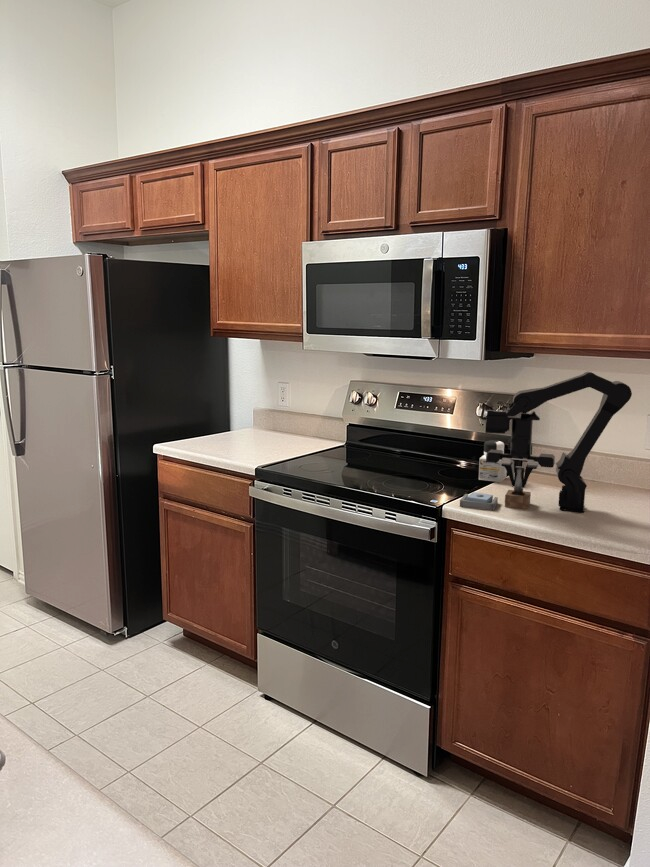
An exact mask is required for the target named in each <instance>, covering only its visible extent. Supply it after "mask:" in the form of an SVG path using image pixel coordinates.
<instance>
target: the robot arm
mask: <svg viewBox="0 0 650 867" xmlns="http://www.w3.org/2000/svg"><path fill="white" fill-rule="evenodd" d="M586 388H588V389H589V388H591V389H593V390H595V391H598V392H600V393H601V394H603V395H602V396H601V397H602V398H601V400H600V402H599V407H598V409H597V411H596V413H594V415H593V417H592V419H591V420H590V422H589V423H588V425H587V426H586V428H585V430H584V431H583V433H582V435H581V436H580V438H579V439H578V441H577V442H576V444H575V446H574V447H573V449H572V450H571V451H570V452H569V453H567V454H566V453H565V452H562V453H561V456H560V459H559V460H557V461H556V456H555V455H554V454H553V453H552V454H551V453H540V455H539V456H538V455H533V443H532V439H533V438H532V437H533V436H532V435H533V423H534V422H533V421H540V420H541V419H540V416H539V415H537V413H536V411H535V410H534V409H536V408H538V407H540V406H542V405H543V404H544V403H547V402H548V401H551V400H554V399H557V398H560V397H563V396H566V395H569V394H573V393H576V392H578V391H582V390H584V389H586ZM632 395H633V394H632V389H631V387H630V386H629V385H628V384H626V383H624V382H623V381H620V380H615V381H610V380H609V379H606V378H604V377H601V376H599V375H597V374H595V373H594V372H592V371H585V372H583V373H581V374H579V375H576V376H573V377H570V378H568V379H564V380H561V381H559V382H555V383H553V384H550V385H547V386H544V387H543V386H542V387H537V388H530V389H524V390H519V391H517V392H516V393H514V395H513V396H512V397H513V398H512V403H511V404H510V405H508V407H507V408H506V409H505V410H494V409H487V410H486V419H485V432H484V433H485V434H494V435H495V434H497V435H498V434H499V435H500V434H501V435H506V433H507V432H508V431H510V422H511V433H510V438H509V439H508V442H507V449H508V450H510V451H509V452H510V453H504V454H503V450H492V449H491V450H490V451H489V452H488V453H487V455H486V462H493V463H497V462H498V461H499V460H502V464H501V466H504V467H505V468H506V471H507V474H508V477H509V480H510V483H511V486H512V487H513V488H514V478H515V462H525V463H527V464H526V466H525V468H524V481H523V489H525V488H526V486H527V483H528V479H529V477H530V474H531V473H532V472H533V470H536V469H538V467H539V466H540V467H541V468H550V469H551V468H554V465H556V468H555V472H556V476H557V479H558V481H559V482H560V483H562V485H561V490H559V493H558V507H559V510H560V511H567V512H568V511H569V512H577V513H584V512H585V506H586V504H585V502H586V501H585V500H586V499H585V498H586V489H587V486H588V485H587V484H586V481H585V480H584V478H583V477H582V476H581V474H582V472H583V468H584V466H585V462H586V459H587V457H588V456H589V454H590V452H591V450H592V449H593V448H594V446H595V444H596V443H597V441H598V439H599V438H600V437H601V435H602V433H603V432H604V430H605V428H606V427H607V426H608V424H609V423H610V421H611V420H612V418H613V416H615V414H617V413H618V412H619V411H620V410H622V408H624V407H625V405H626V404H627V403H628V402H629V401H630V399H631V398H632ZM530 411H532V412H530ZM529 412H530V413H529ZM519 414H520V415H519ZM555 461H556V462H555Z"/></svg>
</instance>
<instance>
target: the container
mask: <svg viewBox="0 0 650 867" xmlns="http://www.w3.org/2000/svg"><path fill="white" fill-rule="evenodd" d="M491 449H492V450H503V454H505V443H504V442H503V441H500V440H494V439H493V440H487V441H485V442H484V443H483V455H481V457H479V464H478V480H479V481H486V482H494V483H495V482H496V483H502V482H503V481H504V480H505V479H506V478H507V474H508V473H507V471H506V468H505V467H504V466H501V464H502V460H499V461H498V462H497V463H493V462H486V455H487V453H488V452H489V451H490V450H491Z"/></svg>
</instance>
